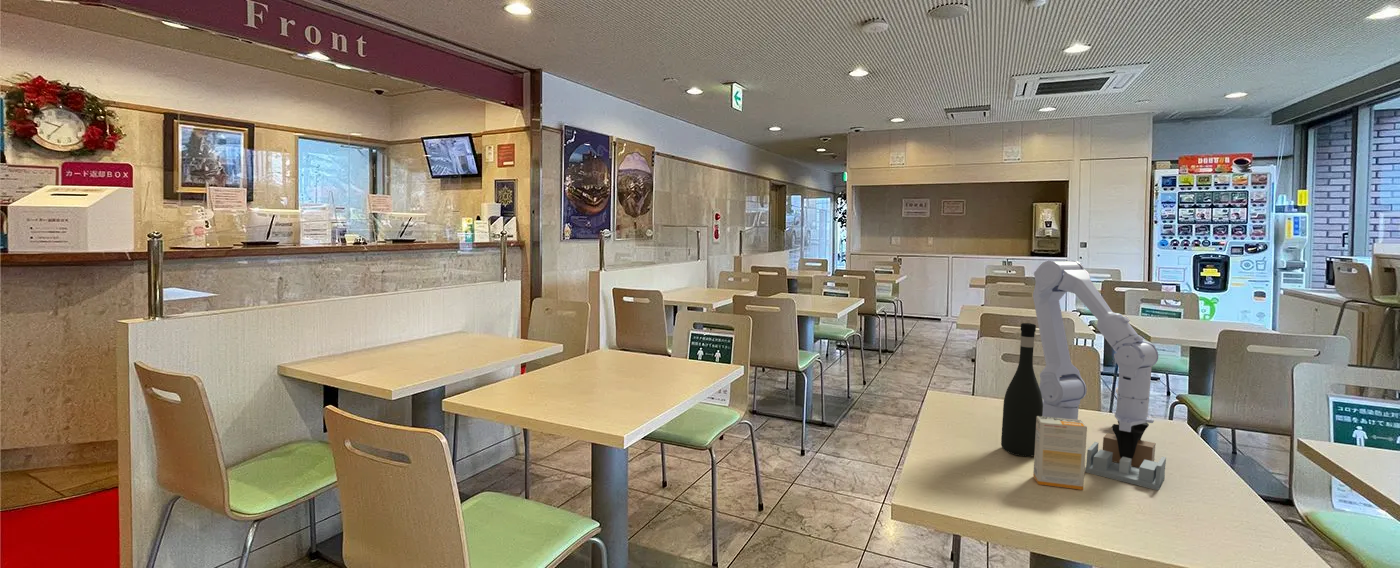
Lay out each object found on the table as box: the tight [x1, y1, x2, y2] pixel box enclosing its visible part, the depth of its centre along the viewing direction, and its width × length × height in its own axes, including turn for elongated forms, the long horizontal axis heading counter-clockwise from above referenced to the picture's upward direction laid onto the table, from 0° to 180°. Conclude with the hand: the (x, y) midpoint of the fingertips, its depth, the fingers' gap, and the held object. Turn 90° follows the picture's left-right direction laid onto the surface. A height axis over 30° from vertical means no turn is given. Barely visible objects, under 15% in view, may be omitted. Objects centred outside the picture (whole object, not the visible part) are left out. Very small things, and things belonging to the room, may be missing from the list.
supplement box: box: [1032, 416, 1088, 491], centre depth 122 cm, size 8×5×13 cm, turn 71°
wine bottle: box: [1000, 322, 1043, 457], centre depth 139 cm, size 8×8×30 cm
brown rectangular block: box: [1102, 433, 1156, 468], centre depth 135 cm, size 9×4×5 cm, turn 46°
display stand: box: [1084, 441, 1167, 491], centre depth 127 cm, size 13×8×5 cm, turn 46°
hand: (1128, 455), depth 135 cm, fingers closed on brown rectangular block, 4 cm apart
